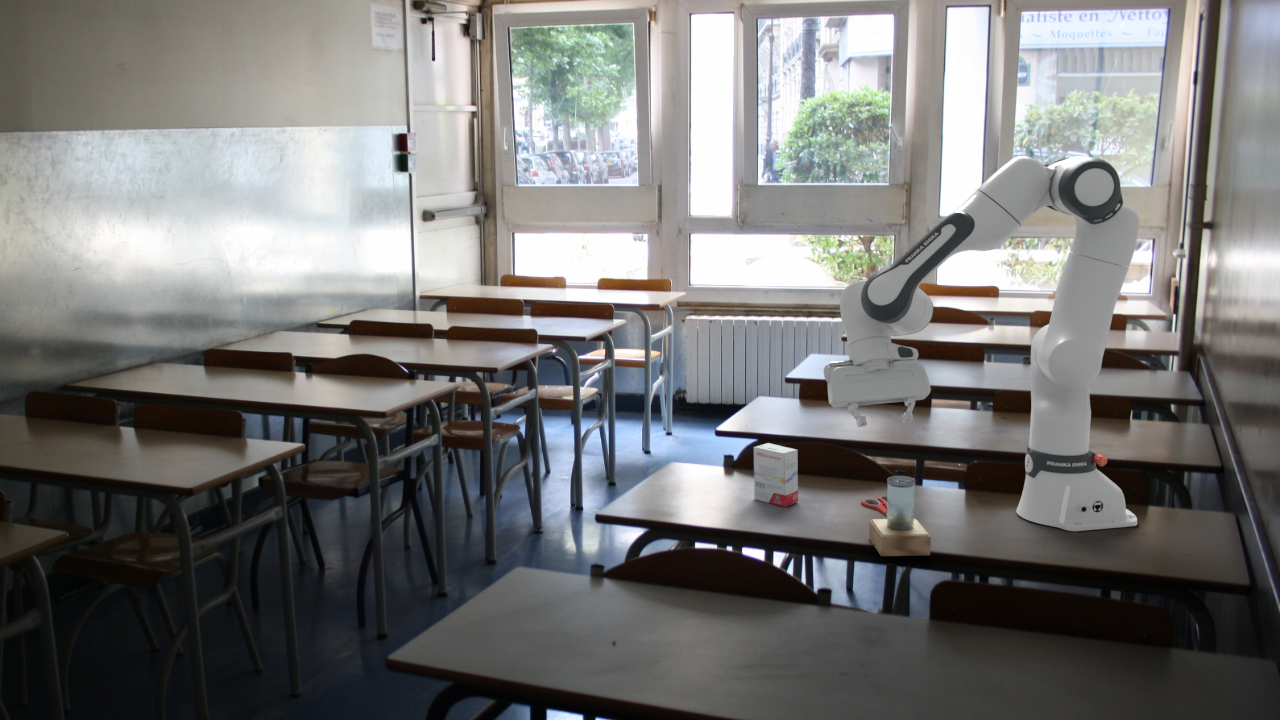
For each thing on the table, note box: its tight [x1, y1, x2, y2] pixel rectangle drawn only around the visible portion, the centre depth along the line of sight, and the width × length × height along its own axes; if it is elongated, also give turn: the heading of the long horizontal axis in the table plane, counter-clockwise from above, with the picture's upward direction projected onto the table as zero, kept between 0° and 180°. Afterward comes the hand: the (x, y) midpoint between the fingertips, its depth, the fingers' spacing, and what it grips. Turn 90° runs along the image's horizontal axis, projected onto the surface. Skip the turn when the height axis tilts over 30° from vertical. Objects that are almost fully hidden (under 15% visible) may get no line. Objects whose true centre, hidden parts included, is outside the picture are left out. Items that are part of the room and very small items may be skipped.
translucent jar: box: [886, 475, 916, 531], centre depth 186 cm, size 5×5×9 cm
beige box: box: [868, 518, 932, 557], centre depth 187 cm, size 9×9×4 cm
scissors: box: [860, 495, 887, 517], centre depth 205 cm, size 8×21×2 cm, turn 9°
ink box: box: [753, 442, 799, 508], centre depth 214 cm, size 9×5×12 cm, turn 44°
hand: (885, 423), depth 197 cm, fingers open, 8 cm apart
